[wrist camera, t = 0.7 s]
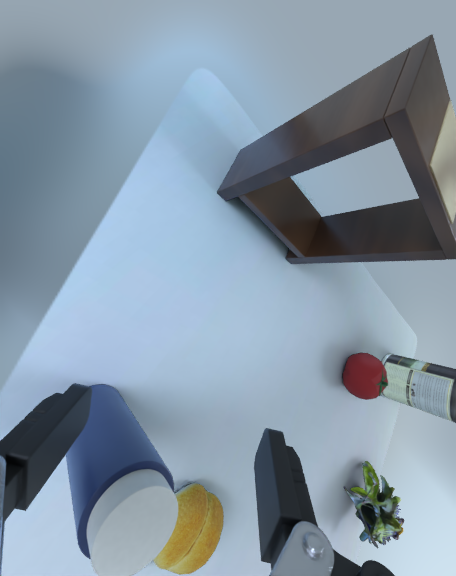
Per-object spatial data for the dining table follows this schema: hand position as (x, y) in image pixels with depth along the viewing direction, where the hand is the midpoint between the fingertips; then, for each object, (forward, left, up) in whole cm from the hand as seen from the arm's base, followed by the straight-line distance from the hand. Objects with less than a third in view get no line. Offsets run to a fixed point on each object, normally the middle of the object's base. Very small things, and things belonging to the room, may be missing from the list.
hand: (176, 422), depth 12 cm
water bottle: (0, -7, -16) cm, 18 cm away
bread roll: (+11, -22, -16) cm, 29 cm away
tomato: (+45, -8, -16) cm, 48 cm away
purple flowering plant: (+51, -34, -16) cm, 63 cm away
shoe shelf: (+20, +17, -16) cm, 31 cm away
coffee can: (+63, -11, -16) cm, 66 cm away
